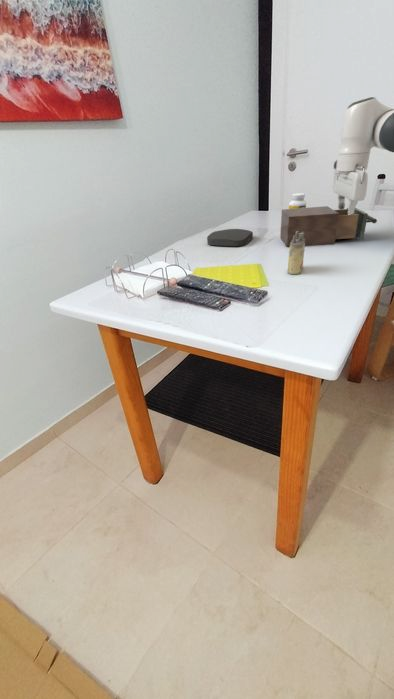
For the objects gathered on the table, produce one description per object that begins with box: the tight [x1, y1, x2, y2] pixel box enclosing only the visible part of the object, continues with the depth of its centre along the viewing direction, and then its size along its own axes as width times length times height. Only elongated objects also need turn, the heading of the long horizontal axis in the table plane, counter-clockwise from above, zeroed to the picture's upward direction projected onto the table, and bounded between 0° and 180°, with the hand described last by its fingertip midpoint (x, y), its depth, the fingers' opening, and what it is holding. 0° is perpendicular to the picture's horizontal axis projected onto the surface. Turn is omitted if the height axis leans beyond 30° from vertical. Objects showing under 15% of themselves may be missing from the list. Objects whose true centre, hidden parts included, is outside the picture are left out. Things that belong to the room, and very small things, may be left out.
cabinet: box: [279, 205, 339, 248], centre depth 114 cm, size 16×13×10 cm
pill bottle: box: [288, 192, 307, 209], centre depth 133 cm, size 6×6×12 cm
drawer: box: [333, 207, 378, 240], centre depth 113 cm, size 19×11×8 cm, turn 88°
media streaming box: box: [206, 228, 254, 247], centre depth 122 cm, size 15×15×3 cm
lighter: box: [286, 231, 306, 275], centre depth 90 cm, size 7×4×10 cm, turn 157°
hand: (345, 211), depth 111 cm, fingers open, 7 cm apart
